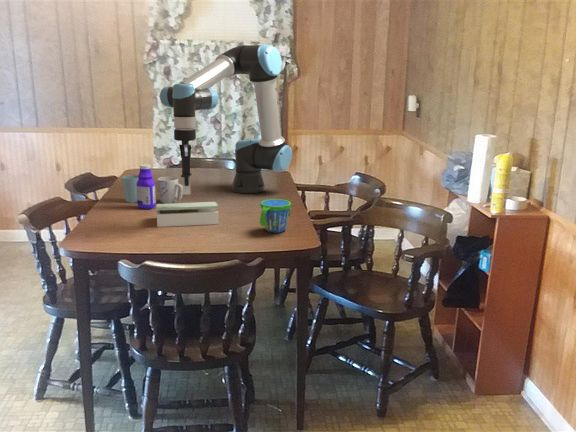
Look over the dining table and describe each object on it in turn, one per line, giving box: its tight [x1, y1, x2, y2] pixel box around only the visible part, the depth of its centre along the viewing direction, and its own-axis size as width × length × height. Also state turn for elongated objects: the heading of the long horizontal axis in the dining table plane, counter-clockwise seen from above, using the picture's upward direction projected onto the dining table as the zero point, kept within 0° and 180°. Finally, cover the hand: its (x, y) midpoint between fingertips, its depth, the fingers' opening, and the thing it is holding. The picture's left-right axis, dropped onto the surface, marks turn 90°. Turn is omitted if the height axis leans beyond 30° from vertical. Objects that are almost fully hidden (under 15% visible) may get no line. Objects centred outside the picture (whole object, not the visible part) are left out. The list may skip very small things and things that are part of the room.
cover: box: [155, 201, 219, 212], centre depth 216 cm, size 22×12×1 cm, turn 102°
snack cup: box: [259, 198, 292, 234], centre depth 206 cm, size 16×10×10 cm
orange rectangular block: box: [179, 210, 198, 213], centre depth 218 cm, size 7×4×4 cm, turn 98°
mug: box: [157, 176, 183, 204], centre depth 242 cm, size 11×8×10 cm
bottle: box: [136, 163, 157, 210], centre depth 233 cm, size 7×6×17 cm
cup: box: [121, 174, 139, 203], centre depth 244 cm, size 8×8×10 cm
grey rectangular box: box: [156, 208, 220, 228], centre depth 217 cm, size 22×12×4 cm, turn 102°
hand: (186, 193), depth 211 cm, fingers closed
